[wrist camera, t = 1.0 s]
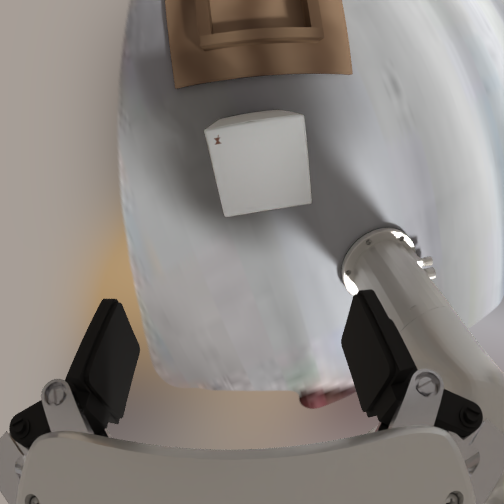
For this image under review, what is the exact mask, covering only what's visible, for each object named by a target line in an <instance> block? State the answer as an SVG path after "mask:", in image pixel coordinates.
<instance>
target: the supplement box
mask: <svg viewBox="0 0 504 504" xmlns="http://www.w3.org/2000/svg"><path fill="white" fill-rule="evenodd" d="M204 133H205V138H206V142H207V146H208V150H209V155H210V159H211V163H212V167H213V171H214V175H215V180H216V184H217V188H218V192H219V196H220V200H221V204H222V209H223V213H224V216H225V217H230V216H236V215H242V214H248V213H255V212H261V211H267V210H273V209H279V208H286V207H292V206H299V205H305V204H311V203H312V197H311V185H310V172H309V159H308V148H307V137H306V128H305V118H304V115H302V114H299V113H295V112H289V111H283V110H279V109H278V110H268V111H260V112H253V113H247V114H241V115H236V116H231V117H227V118H222V119H219V120H217V121H216V122H215V123H213V124H212V125H211V126H209V127H208V128H206V129H205V130H204Z"/></svg>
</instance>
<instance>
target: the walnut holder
mask: <svg viewBox="0 0 504 504" xmlns="http://www.w3.org/2000/svg"><path fill="white" fill-rule="evenodd" d="M165 7H166V17H167V27H168V36H169V45H170V53H171V61H172V68H173V76H174V83H175V88H176V89H178V88H183V87H188V86H193V85H198V84H203V83H209V82H215V81H222V80H229V79H237V78H245V77H255V76H267V75H283V74H346V75H350V74H352V64H351V56H350V48H349V40H348V34H347V27H346V21H345V15H344V10H343V4H342V0H165Z"/></svg>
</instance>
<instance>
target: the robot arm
mask: <svg viewBox="0 0 504 504" xmlns="http://www.w3.org/2000/svg"><path fill="white" fill-rule="evenodd" d="M432 264H433V260H432V257H424V258H420V257H418V256H417V255H416V251H415V247H414V244H413V242H412V241H411V239H410V238H409V237H408V236H407V235H406V234H405V233H404V232H402V231H400V230H398V229H395V228H380V229H377V230H373V231H371V232H369V233H367V234H365V235H364V236H363V237H361V238H360V239H359V240H358V241H356V242H355V243H354V244H353V246H352V247H351V248H350V249H349V251H348V253H347V254H346V256H345V258H344V261H343V264H342V271H341V273H342V280H343V283H344V285H345V287H346V289H347V290H348V292H349V293H350V294H351V295H353V300H352V304H351V307H350V311H349V315H348V318H347V322H346V325H345V329H344V332H343V335H342V339H341V344H342V348H343V351H344V354H345V357H346V360H347V363H348V366H349V369H350V372H351V376H352V379H353V382H354V385H355V388H356V392H357V395H358V398H359V401H360V405H361V408H362V410H363V412H366V413H367V416H368V417H373V416H377V417H378V420H379V421H380V422H379V425H378V426H376V427H375V428H373V429H372V430H371V431H369V432H368V433H367V434H364V435H360V436H355V437H350V438H344V439H339V440H333V441H328V442H322V443H315V444H308V445H300V446H292V447H281V448H268V449H248V450H211V449H190V448H177V447H167V446H158V445H150V444H143V443H137V442H131V441H125V440H119V439H114V438H112V437H111V435H110V433H109V431H108V430H107V424H108V422H110V423H115V424H118V423H119V419H120V418H122V417H123V415H124V411H125V406H126V402H127V398H128V394H129V390H130V386H131V382H132V378H133V375H134V371H135V367H136V364H137V360H138V356H139V353H140V347H139V344H138V342H137V339H136V337H135V335H134V333H133V330H132V328H131V325H130V323H129V321H128V318H127V316H126V313H125V311H124V309H123V306H122V304H121V303H119V302H118V301H117V299H103V300H102V301H101V303H100V305H99V307H98V309H97V311H96V313H95V315H94V317H93V319H92V321H91V323H90V325H89V327H88V329H87V332H86V334H85V336H84V338H83V340H82V342H81V344H80V347H79V349H78V351H77V353H76V356H75V358H74V360H73V362H72V365H71V367H70V369H69V372H68V374H67V377H66V379H65V380H62V379H54V380H51V381H50V382H48V383H47V384H46V385H45V386H44V388H43V390H42V394H41V399H42V400H41V401H39V402H37V403H36V404H34V405H32V406H30V407H29V408H27V409H25V410H23V411H22V412H20V413H18V414H17V415H15V416H14V417H13V419H12V420H11V423H10V433H8V432H7V431H6V433H5V434H4V435H3V436H2V437H1V438H0V491H1V493H2V494H3V496H4V497H5V499H6V500H7V502H8V503H9V504H504V373H503V372H502V371H501V370H500V368H499V367H498V366H497V365H496V364H495V362H494V361H493V360H492V359H491V358H490V357H489V356H488V354H487V353H486V352H485V351H484V349H483V348H482V347H481V346H480V345H479V343H478V342H477V341H476V339H475V338H474V336H472V334H471V332H470V331H469V330H468V328H467V327H466V326H465V324H464V323H463V321H462V320H461V318H460V317H459V316H458V314H457V313H456V311H455V310H454V309H453V308H452V306H451V305H450V304H449V302H448V301H447V300H446V298H445V297H444V296H443V294H442V293H441V292H440V290H439V289H438V288H437V286H436V285H435V284H434V283H433V281H432V279H434V278H435V276H436V272H435V269H434V268H433V267H431V268H426V269H422V268H421V267H422V266H430V265H432Z"/></svg>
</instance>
